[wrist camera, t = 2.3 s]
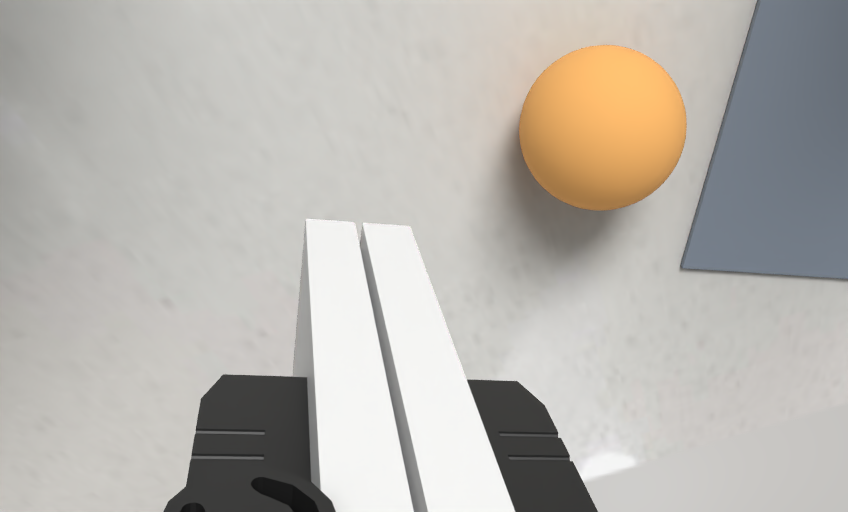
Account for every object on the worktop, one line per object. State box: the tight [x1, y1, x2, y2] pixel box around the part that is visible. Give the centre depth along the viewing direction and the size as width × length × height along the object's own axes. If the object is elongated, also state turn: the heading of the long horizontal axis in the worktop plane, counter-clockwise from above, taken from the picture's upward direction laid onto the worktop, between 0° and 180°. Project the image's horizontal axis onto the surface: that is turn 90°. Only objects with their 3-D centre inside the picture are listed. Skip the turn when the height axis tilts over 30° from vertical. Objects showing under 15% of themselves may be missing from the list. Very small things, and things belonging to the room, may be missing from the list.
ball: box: [519, 45, 686, 210], centre depth 27 cm, size 6×6×6 cm
